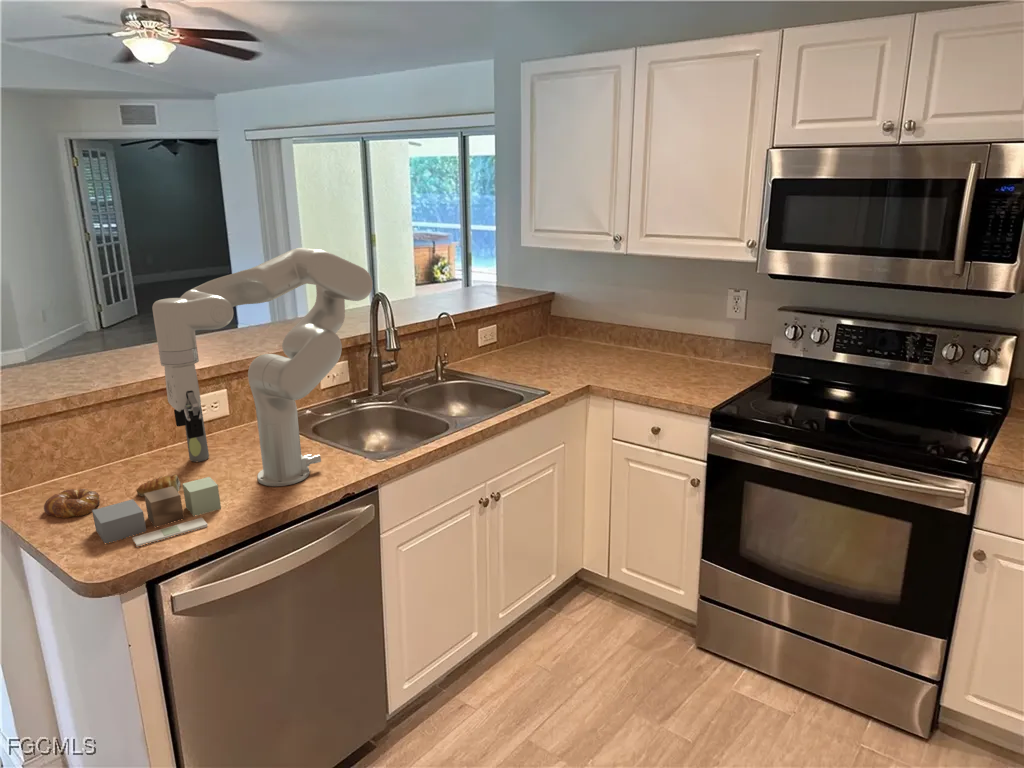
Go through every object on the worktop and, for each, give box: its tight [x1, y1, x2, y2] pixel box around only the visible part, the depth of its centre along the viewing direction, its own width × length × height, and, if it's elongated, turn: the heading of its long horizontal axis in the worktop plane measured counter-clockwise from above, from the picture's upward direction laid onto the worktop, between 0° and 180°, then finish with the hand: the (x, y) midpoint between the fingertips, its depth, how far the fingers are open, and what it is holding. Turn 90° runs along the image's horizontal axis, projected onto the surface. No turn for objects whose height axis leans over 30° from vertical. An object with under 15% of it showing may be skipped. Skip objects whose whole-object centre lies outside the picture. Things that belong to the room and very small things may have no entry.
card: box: [131, 517, 209, 547], centre depth 150 cm, size 14×4×1 cm, turn 129°
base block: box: [91, 498, 147, 544], centre depth 151 cm, size 8×8×5 cm
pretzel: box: [43, 488, 101, 519], centre depth 162 cm, size 12×11×4 cm
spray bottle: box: [184, 405, 210, 463], centre depth 187 cm, size 5×5×20 cm
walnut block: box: [144, 486, 185, 528], centre depth 156 cm, size 6×6×6 cm
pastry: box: [135, 474, 181, 497], centre depth 170 cm, size 9×7×4 cm
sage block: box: [182, 476, 222, 517], centre depth 161 cm, size 6×6×6 cm
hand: (189, 430), depth 157 cm, fingers open, 9 cm apart
